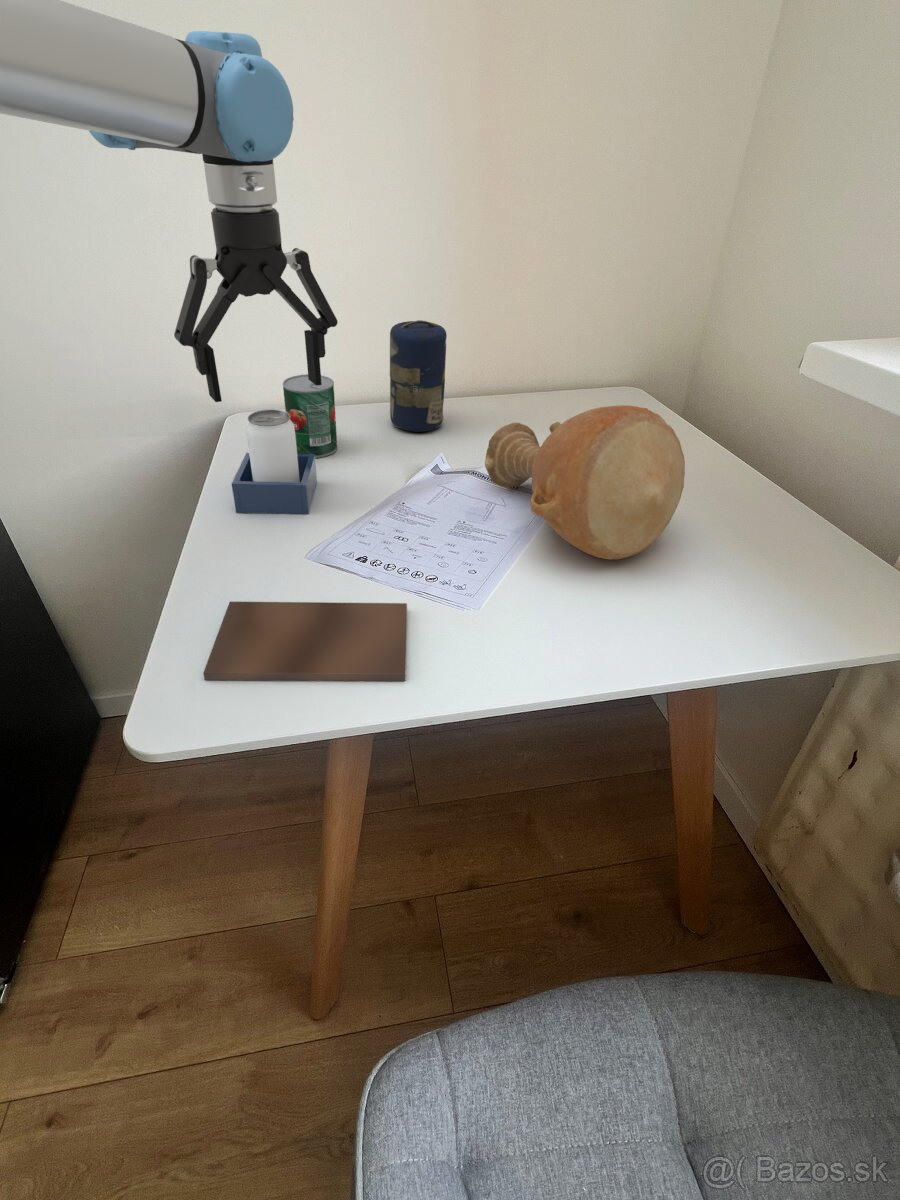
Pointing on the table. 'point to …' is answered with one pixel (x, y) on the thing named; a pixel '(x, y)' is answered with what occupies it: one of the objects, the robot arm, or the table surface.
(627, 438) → the jug
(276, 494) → the holder
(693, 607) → the table surface
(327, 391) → the canned tomato
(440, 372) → the canister
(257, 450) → the can
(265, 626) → the board
